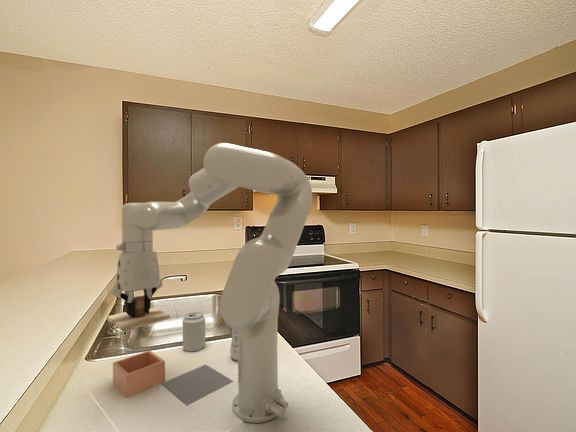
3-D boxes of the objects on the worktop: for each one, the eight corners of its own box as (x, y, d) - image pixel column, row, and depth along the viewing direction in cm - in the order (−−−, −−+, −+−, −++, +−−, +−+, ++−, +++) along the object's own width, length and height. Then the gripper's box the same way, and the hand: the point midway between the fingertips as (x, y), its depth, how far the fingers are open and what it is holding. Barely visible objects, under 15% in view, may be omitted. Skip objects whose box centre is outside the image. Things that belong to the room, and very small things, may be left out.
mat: (233, 383, 83) (233, 381, 83) (186, 407, 73) (186, 405, 73) (205, 365, 93) (205, 364, 93) (160, 385, 83) (160, 383, 83)
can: (197, 342, 110) (196, 309, 110) (209, 347, 106) (209, 313, 105) (178, 349, 104) (178, 314, 104) (191, 355, 100) (190, 319, 100)
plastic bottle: (240, 352, 102) (239, 293, 102) (255, 357, 98) (254, 296, 98) (225, 360, 97) (225, 297, 96) (241, 366, 93) (240, 301, 92)
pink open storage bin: (165, 382, 84) (164, 361, 84) (126, 399, 77) (126, 375, 77) (149, 370, 91) (149, 350, 91) (113, 384, 84) (112, 362, 83)
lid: (169, 318, 84) (169, 297, 84) (123, 331, 75) (122, 307, 75) (151, 309, 92) (151, 289, 92) (107, 319, 83) (106, 298, 83)
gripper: (109, 251, 75) (110, 325, 75) (172, 246, 87) (173, 309, 87) (99, 249, 80) (100, 318, 80) (161, 244, 92) (161, 304, 92)
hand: (138, 313), depth 84 cm, fingers closed on lid, 3 cm apart
